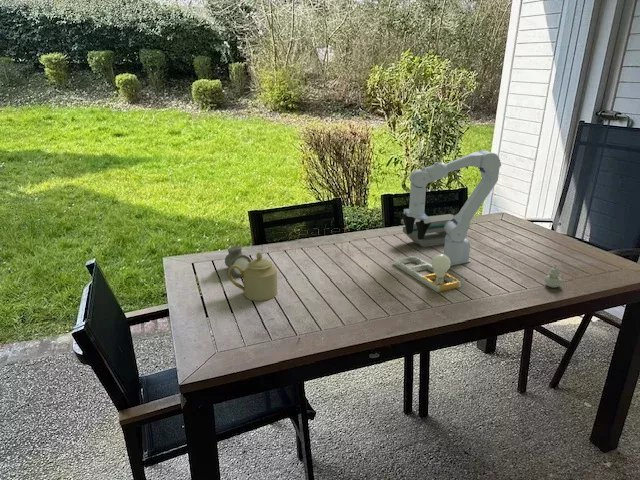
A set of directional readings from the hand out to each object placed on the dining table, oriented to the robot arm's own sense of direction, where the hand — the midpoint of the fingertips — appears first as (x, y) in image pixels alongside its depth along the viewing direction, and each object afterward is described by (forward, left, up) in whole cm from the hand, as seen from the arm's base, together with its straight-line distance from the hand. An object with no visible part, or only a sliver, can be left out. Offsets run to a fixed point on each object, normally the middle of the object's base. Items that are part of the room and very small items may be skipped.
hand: (415, 236), depth 172 cm
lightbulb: (+4, +22, -11) cm, 25 cm away
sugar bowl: (+65, +4, -11) cm, 66 cm away
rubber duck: (-30, +39, -11) cm, 50 cm away
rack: (+4, +13, -10) cm, 17 cm away
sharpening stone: (-19, -16, -11) cm, 27 cm away
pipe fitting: (+66, -19, -11) cm, 69 cm away
